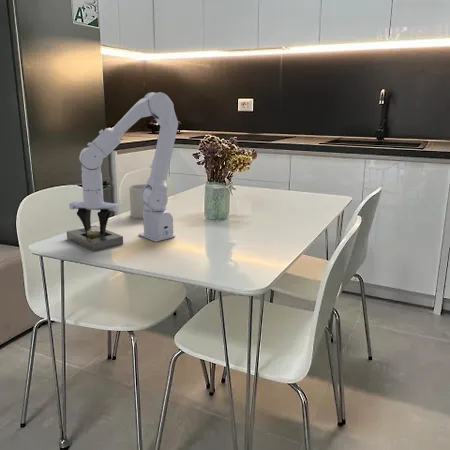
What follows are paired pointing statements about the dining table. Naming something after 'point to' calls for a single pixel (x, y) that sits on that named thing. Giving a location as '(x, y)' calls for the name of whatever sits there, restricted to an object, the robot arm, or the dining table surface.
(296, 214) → the dining table surface
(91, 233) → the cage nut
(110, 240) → the grey recessed tray
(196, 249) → the dining table surface
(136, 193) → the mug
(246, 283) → the dining table surface
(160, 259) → the dining table surface
